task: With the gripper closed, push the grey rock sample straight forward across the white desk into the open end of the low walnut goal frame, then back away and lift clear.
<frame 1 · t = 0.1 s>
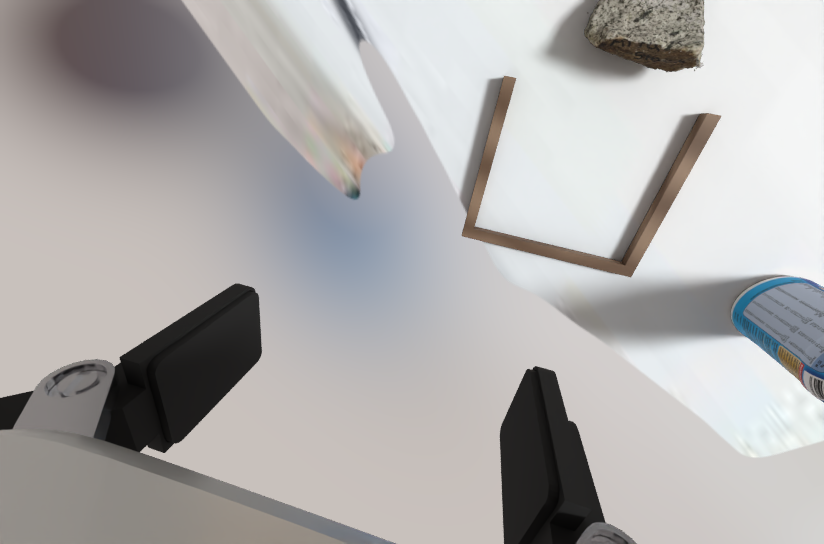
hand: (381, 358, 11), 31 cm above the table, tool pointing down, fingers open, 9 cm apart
beverage bottle: (770, 305, 37), on the table
rock sample: (635, 19, 29), on the table
goal frame: (572, 177, 35), on the table
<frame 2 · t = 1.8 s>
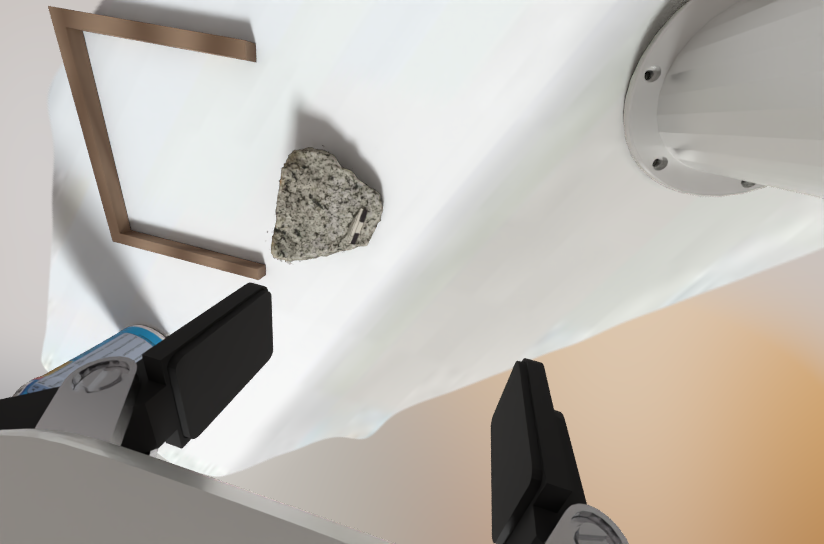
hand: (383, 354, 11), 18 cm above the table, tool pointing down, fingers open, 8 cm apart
beverage bottle: (155, 347, 43), on the table
rock sample: (339, 199, 29), on the table
goal frame: (183, 159, 30), on the table
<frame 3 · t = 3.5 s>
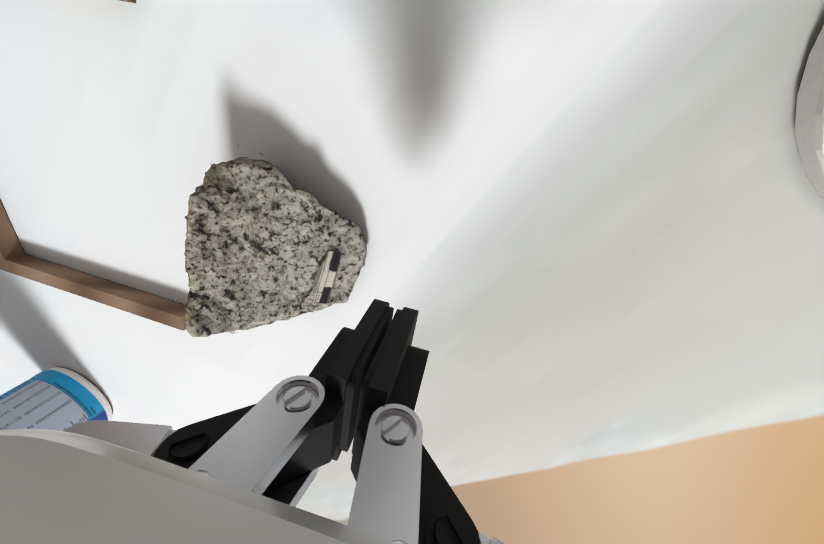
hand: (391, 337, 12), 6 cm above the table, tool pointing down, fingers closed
beverage bottle: (85, 392, 34), on the table
rock sample: (302, 232, 19), on the table
goal frame: (65, 161, 20), on the table
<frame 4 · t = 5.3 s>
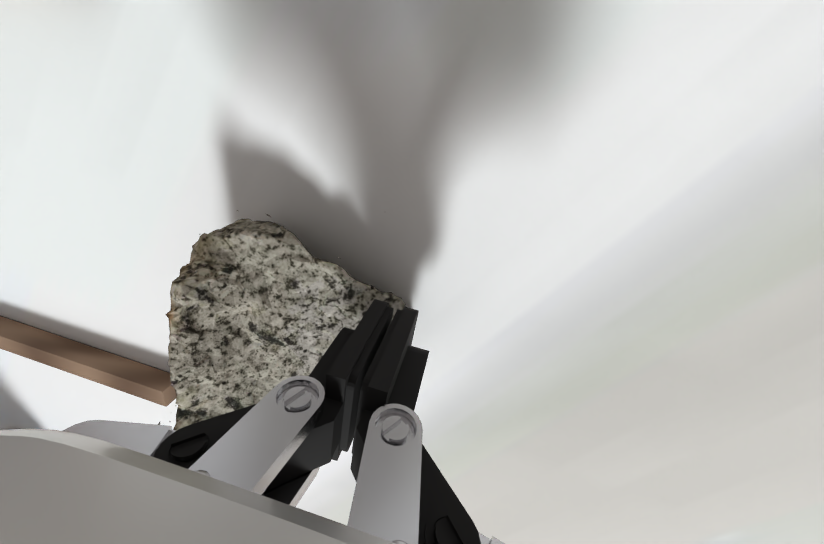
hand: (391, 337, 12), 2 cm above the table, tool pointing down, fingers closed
rock sample: (322, 301, 15), on the table, touching gripper
goal frame: (11, 198, 16), on the table
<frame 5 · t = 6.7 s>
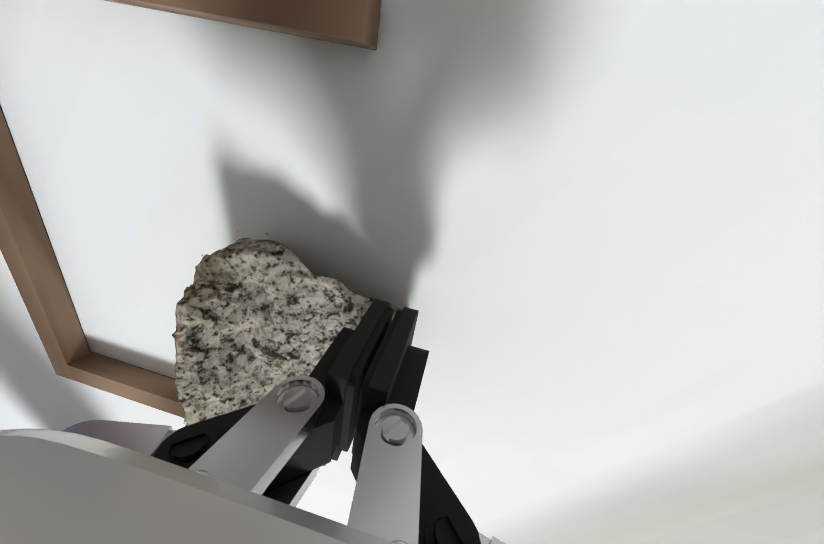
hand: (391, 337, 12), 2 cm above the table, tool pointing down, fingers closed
rock sample: (323, 314, 15), on the table
goal frame: (184, 251, 15), on the table
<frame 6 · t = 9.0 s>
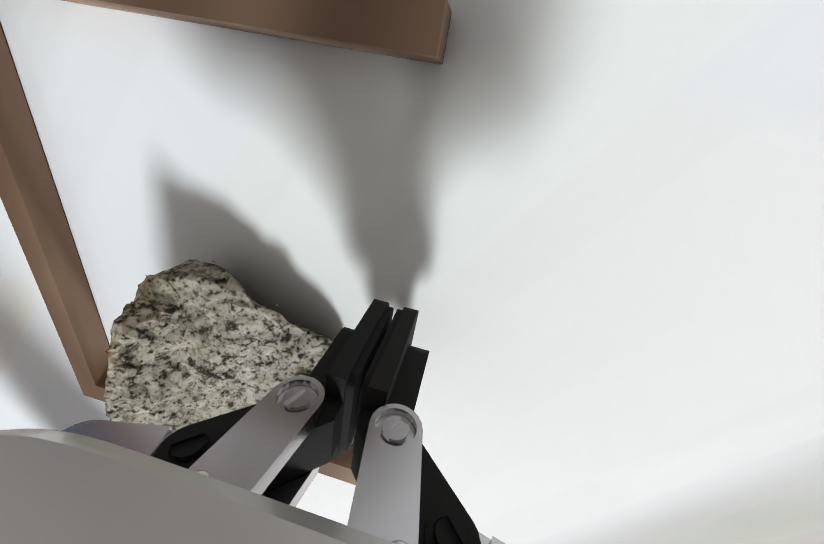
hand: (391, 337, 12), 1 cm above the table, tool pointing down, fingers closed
rock sample: (268, 332, 16), on the table
goal frame: (223, 271, 14), on the table
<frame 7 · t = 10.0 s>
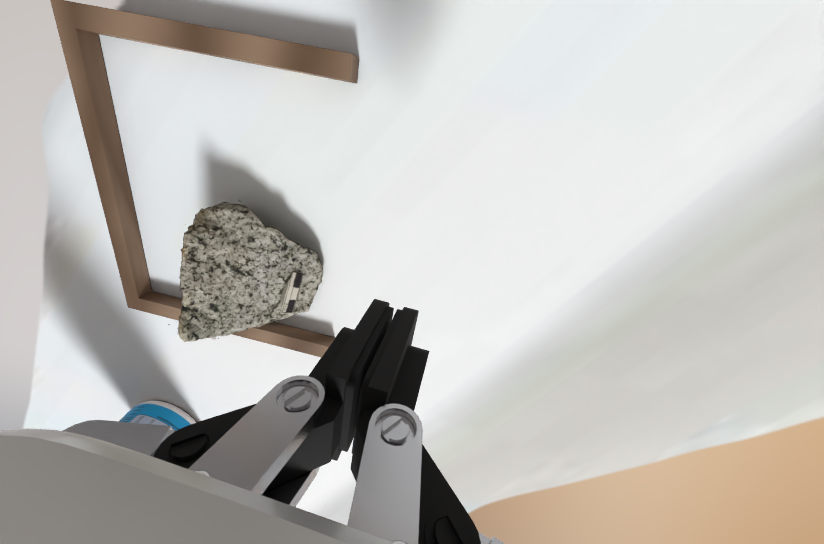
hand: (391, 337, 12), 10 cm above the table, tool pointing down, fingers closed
beverage bottle: (173, 424, 34), on the table
rock sample: (271, 256, 24), on the table
goal frame: (234, 208, 22), on the table
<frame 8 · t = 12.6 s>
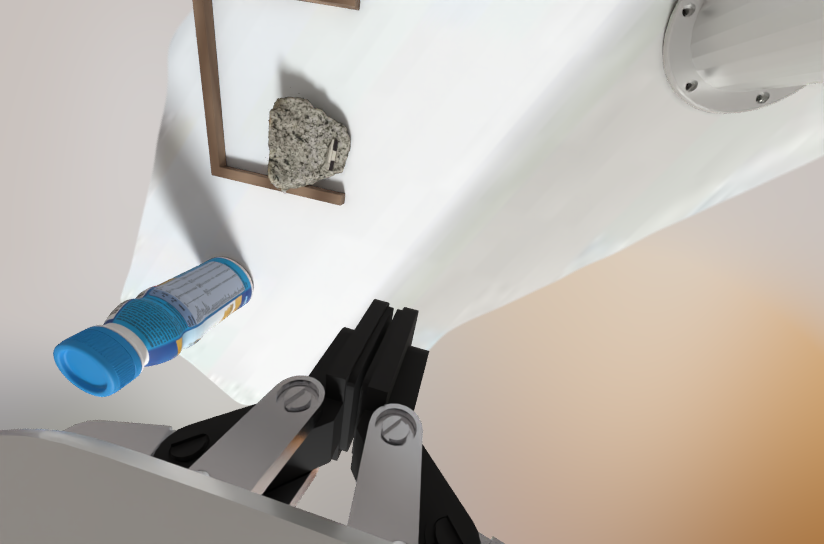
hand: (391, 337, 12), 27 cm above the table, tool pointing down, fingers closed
beverage bottle: (231, 280, 48), on the table
rock sample: (317, 139, 37), on the table
goal frame: (283, 98, 36), on the table
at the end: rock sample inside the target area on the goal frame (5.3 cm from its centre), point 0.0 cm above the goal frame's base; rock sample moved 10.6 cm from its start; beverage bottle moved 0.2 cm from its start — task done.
